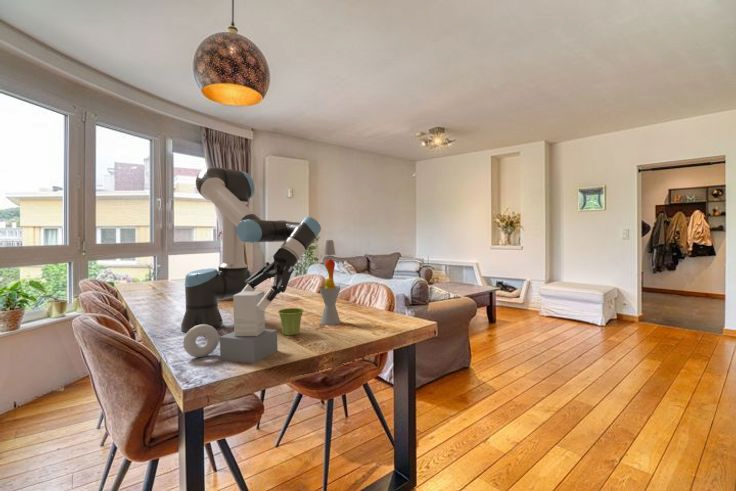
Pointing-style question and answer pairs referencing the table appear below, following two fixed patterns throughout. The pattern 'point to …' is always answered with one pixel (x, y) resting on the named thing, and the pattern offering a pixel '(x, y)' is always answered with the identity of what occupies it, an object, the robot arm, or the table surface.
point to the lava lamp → (330, 290)
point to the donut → (194, 333)
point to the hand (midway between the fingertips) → (248, 305)
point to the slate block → (248, 346)
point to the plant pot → (290, 320)
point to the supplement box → (248, 313)
